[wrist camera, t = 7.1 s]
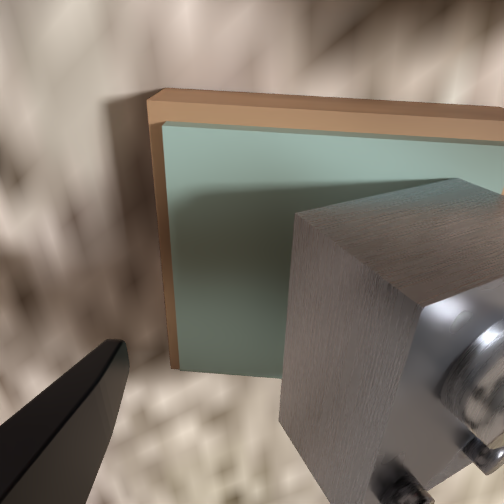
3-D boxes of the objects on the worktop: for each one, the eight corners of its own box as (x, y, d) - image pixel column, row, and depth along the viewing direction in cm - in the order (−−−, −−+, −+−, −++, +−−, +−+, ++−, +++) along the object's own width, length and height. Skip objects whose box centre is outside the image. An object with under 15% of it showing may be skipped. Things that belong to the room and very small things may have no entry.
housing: (401, 366, 14) (525, 482, 11) (278, 421, 12) (381, 585, 9) (457, 177, 10) (674, 261, 7) (294, 212, 8) (484, 353, 5)
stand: (413, 351, 17) (432, 399, 15) (181, 333, 17) (167, 378, 15) (499, 107, 12) (549, 128, 10) (165, 87, 12) (140, 104, 10)
